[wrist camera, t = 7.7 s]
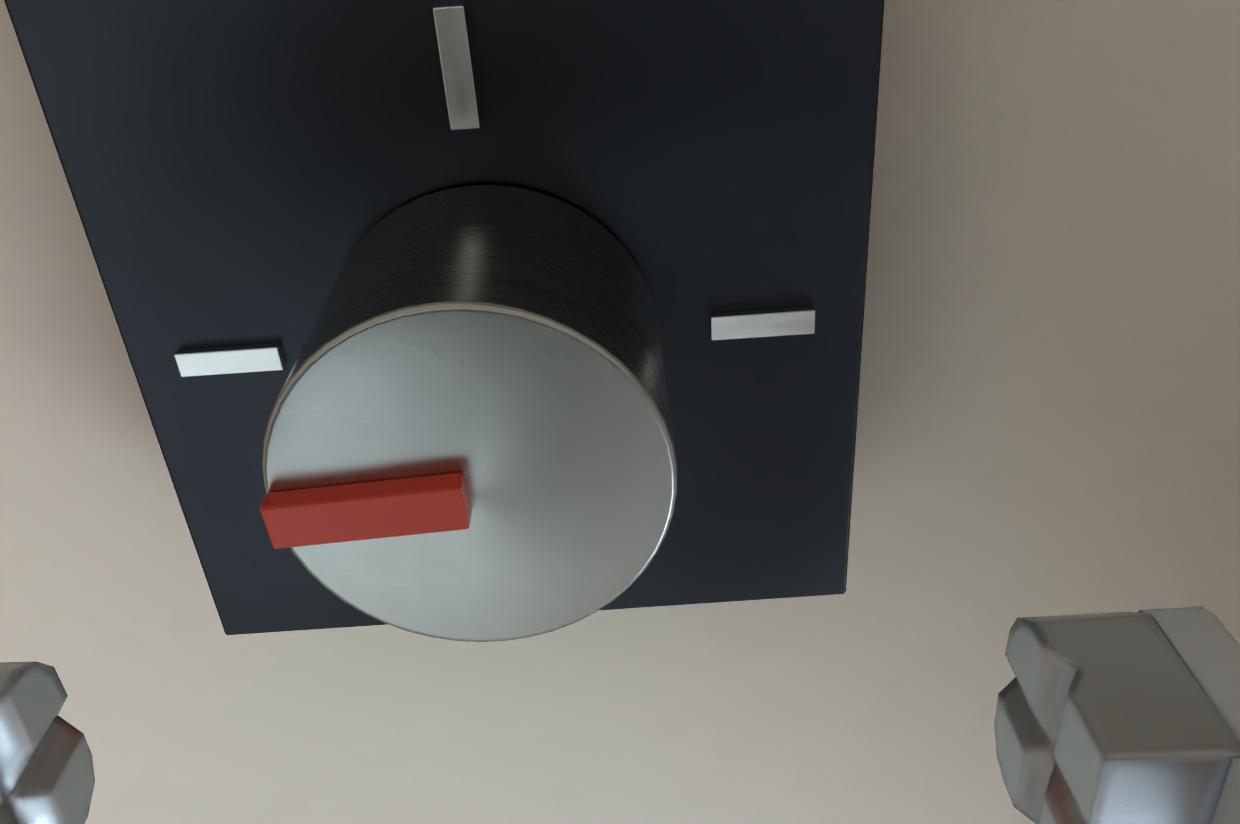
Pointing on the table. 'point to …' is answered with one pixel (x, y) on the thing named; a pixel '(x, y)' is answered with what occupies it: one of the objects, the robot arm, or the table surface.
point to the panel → (485, 155)
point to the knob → (477, 421)
